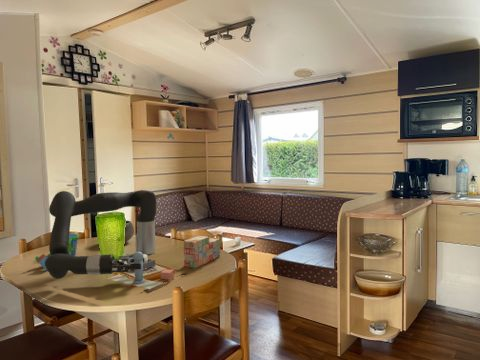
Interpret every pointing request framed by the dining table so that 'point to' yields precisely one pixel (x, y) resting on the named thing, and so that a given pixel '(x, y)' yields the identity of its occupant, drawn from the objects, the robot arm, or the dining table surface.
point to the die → (167, 275)
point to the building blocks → (42, 260)
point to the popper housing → (149, 263)
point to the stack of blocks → (200, 251)
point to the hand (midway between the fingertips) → (142, 263)
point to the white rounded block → (145, 258)
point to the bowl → (129, 231)
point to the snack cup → (72, 244)
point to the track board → (149, 285)
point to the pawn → (139, 272)
